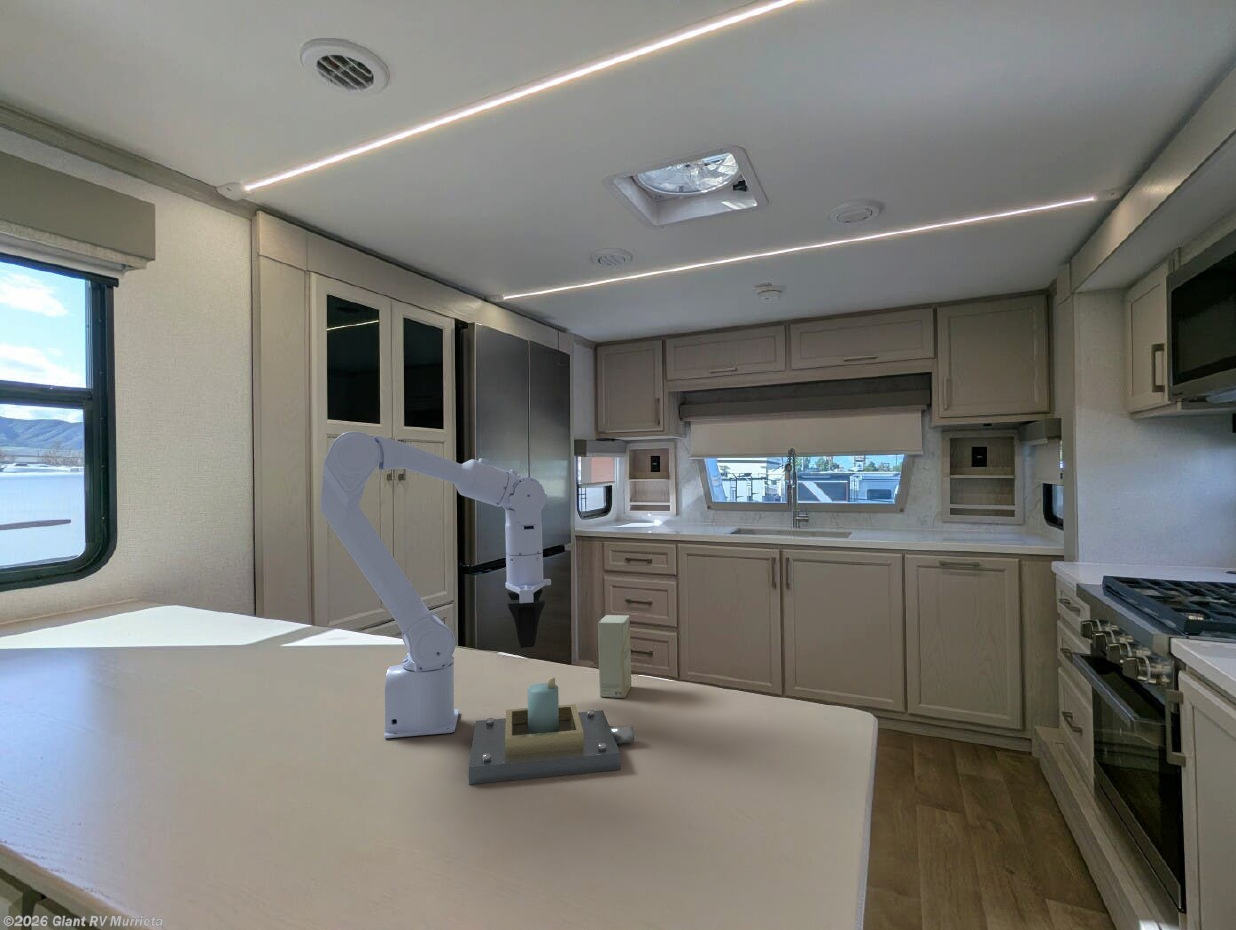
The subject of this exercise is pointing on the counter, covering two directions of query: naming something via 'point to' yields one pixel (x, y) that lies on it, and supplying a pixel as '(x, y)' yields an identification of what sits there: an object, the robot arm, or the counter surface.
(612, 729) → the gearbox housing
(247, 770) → the counter surface
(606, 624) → the skincare box
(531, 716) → the spout can
